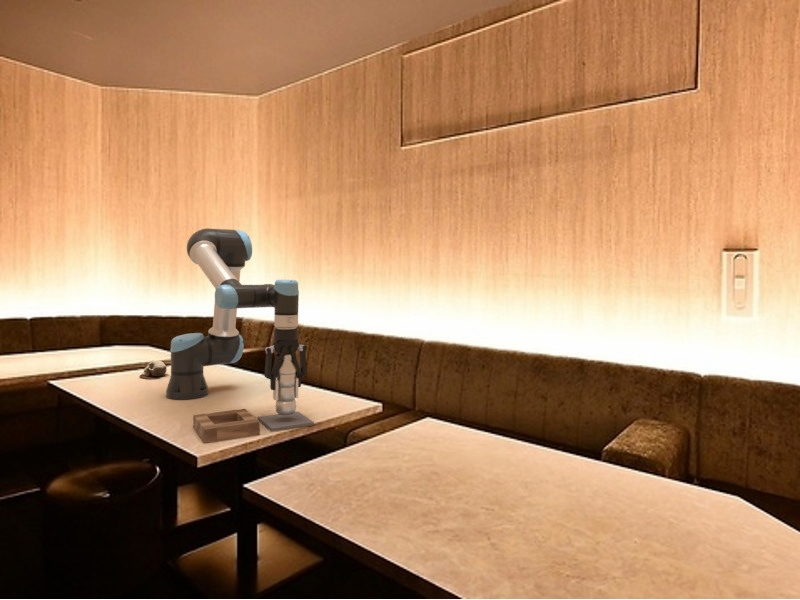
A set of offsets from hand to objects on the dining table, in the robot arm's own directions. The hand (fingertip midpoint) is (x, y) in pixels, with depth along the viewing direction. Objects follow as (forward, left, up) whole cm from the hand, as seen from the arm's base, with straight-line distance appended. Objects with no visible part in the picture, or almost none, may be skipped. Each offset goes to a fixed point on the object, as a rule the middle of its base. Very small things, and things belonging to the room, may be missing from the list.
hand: (285, 398), depth 173 cm
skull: (-91, -28, -8) cm, 96 cm away
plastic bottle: (0, 0, -6) cm, 6 cm away
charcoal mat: (0, 0, -8) cm, 8 cm away
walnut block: (0, -19, -8) cm, 21 cm away
